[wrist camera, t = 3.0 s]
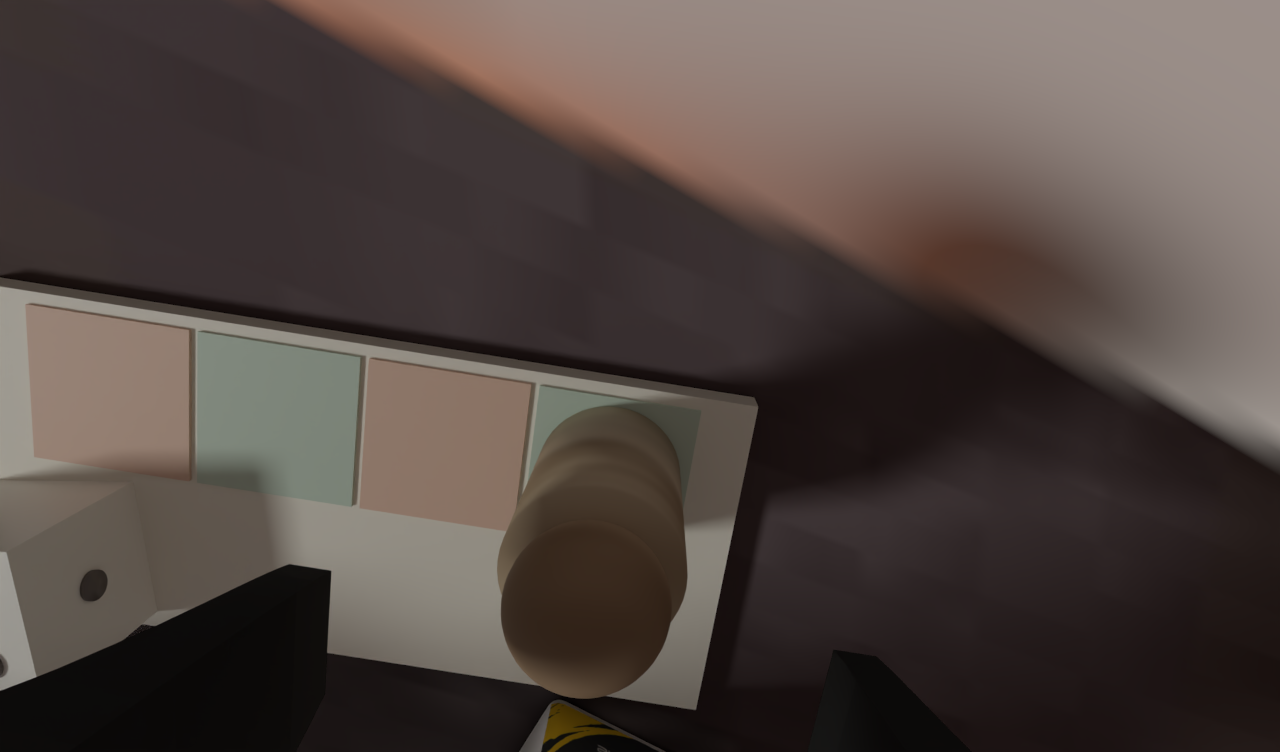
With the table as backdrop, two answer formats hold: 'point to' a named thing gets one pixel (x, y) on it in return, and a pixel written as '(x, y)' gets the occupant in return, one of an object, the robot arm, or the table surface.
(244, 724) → the robot arm
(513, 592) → the pawn
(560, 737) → the medicine bottle
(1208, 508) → the table surface
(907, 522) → the table surface
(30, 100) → the table surface
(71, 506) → the die
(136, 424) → the board
